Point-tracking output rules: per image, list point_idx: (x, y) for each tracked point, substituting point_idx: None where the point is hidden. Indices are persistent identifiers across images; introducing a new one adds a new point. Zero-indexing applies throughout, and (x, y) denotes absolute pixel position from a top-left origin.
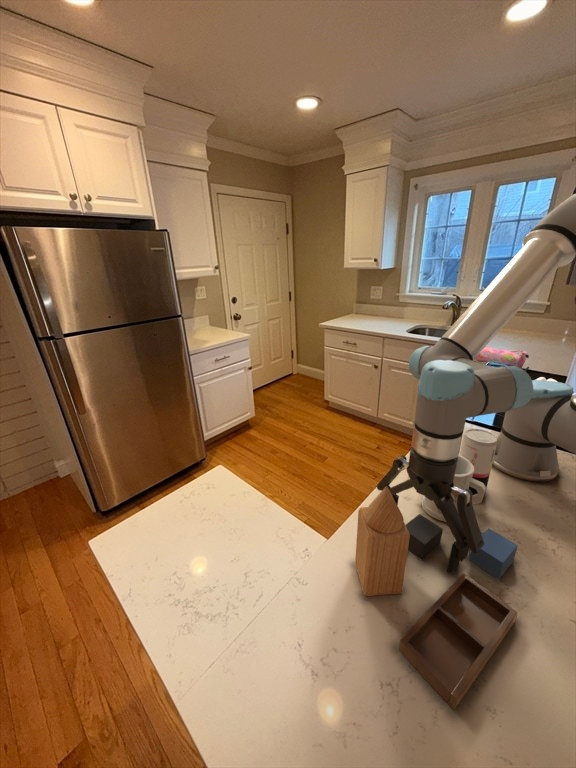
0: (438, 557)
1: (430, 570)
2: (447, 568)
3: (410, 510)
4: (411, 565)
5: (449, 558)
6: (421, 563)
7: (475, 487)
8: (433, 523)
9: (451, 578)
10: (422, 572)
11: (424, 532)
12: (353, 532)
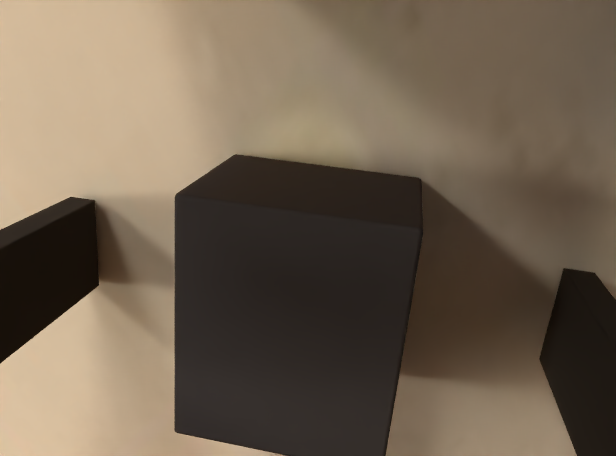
0: (455, 287)
1: (455, 402)
2: (546, 374)
3: (90, 4)
4: None
5: (568, 433)
6: None
7: None
8: (325, 226)
9: None
10: (425, 438)
11: (320, 375)
12: (25, 433)
